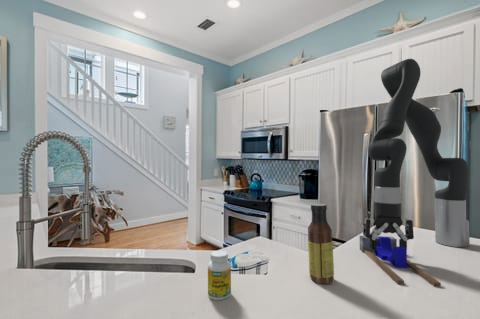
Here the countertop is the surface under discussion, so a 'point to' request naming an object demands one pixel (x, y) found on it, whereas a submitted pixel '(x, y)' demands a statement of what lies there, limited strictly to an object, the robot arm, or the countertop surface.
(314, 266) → the sauce bottle
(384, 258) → the cable clip
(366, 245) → the guide channel
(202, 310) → the countertop surface
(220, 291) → the supplement bottle
